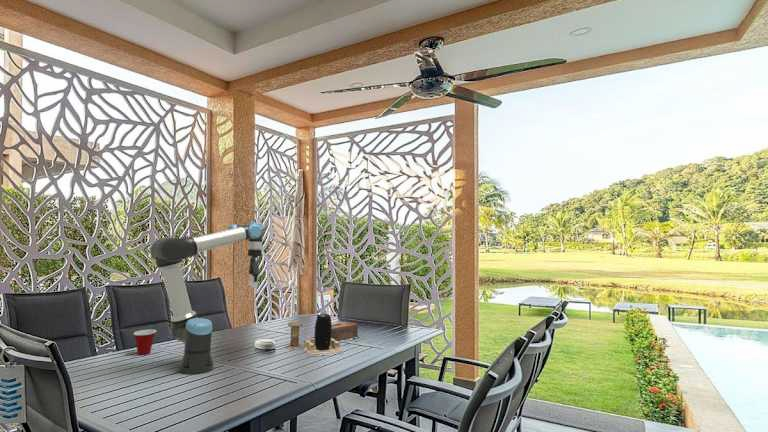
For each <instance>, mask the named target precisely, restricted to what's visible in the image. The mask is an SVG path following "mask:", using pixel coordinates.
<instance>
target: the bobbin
mask: <svg viewBox="0 0 768 432" xmlns="http://www.w3.org/2000/svg"><path fill="white" fill-rule="evenodd" d="M287 324H288V325H287V326H289V327H290V344H288V345H287V346H286V349H287V348H291V349H295V348H300V347H303V346H302V344H299V343H300V327H303V326H304V325H303V322H300V321H299V322H298V321H291V322H288V323H287ZM291 349H290V350H291Z"/></svg>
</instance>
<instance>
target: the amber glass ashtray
mask: <svg viewBox="0 0 768 432" xmlns="http://www.w3.org/2000/svg"><path fill="white" fill-rule="evenodd" d="M340 345H341V342H340V343H339V342H338V341H336V340H334V339H333V338H331V342H330V346H329V349H328V350H327V349H323V350H317V349H316V346H315V339H314V338H310V339H304V341H303V346H302V348H303V349H304V350H305V351H306V352H308V353H309V354H310V355H319V354H332V353H340V352H343V353H344V350H342V349H341V348H340ZM302 348H301V349H302ZM304 350H303V351H304ZM305 351H304V352H305ZM306 352H305V353H306Z"/></svg>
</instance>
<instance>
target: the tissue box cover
mask: <svg viewBox="0 0 768 432" xmlns="http://www.w3.org/2000/svg"><path fill="white" fill-rule="evenodd" d="M331 324H332V327H331V338H333V339H334V340H336V341H341V340H346V339H350V338H354V337H358V338H359V336H358V335H359V324H358V323H356V322H351V321H344V320H339V321H334V322H331ZM313 337H314V338H313V339H315V334H314V335H313Z"/></svg>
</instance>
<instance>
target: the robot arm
mask: <svg viewBox="0 0 768 432" xmlns="http://www.w3.org/2000/svg"><path fill="white" fill-rule="evenodd" d="M263 233H264V224H263V223H262V222H259V221H258V222H256V221H255V222H254V221H252V222H249V224H237V223H236V224H230V225H229V227H228V229H226V230H222V231H218V232H213V233H208V234H205V235H204V234H203V235H201V236H196V237H195V236H192V235H190V236H186V237H166V236H165V237H160V238H157V239H156V240H154V241H152V243H151V245H150V248H149V254H150V256H151V257H152V259H153V260H154V262H155V265H156V268H157V269H159V270H161V273H162V278H163V281H164V285H165V289H166V292H167V293H166V294H167V296H168V301H169V305H170V308H171V313H172V316H171V318H170V321H171V327H170V333H171V335H172V337H173V338H174V339H175V340H176V341H178V342H181V343H184V353H183V356H182V359H181V361H180V363H179V367H178V372H179V373H181V374H185V375H194V374H196V375H197V374H203V373H208V372H211V371H212V370H214V367H215V366H214V364H215V362H214V360H213V356H212V338H213V337H212V336H213V323H212V320H210V319H207V318H203V317H198V316H197V312H196V311H194V310H192V306H191V301H190V299H189V294H188V293H189V292H188V290H187V286H186V282H185V278H184V275H183V271H182V267H181V265H182V263H183V262H184V261H183V260H185V259H189V258H192V257H194V256H197V255H198V254H199V253H202V252H206V251H210V250H213V249H216V248H221V247H225V246H228V245H231V244H236V243H240V242H242V241H247V240H248V242H247V243H246V244H247V248H248V250H247V256H248V257H250V261H249V269H248V273H249V275H248V276H249V277H248V286H251V288H252V289H257V288H258V286H259V285H258V284H259V283H258V282H259V275H260V272H259V271H260V267H259V260H260V259H259V258H258V257H261V256H262V253H263V251H262V249H263Z"/></svg>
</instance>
